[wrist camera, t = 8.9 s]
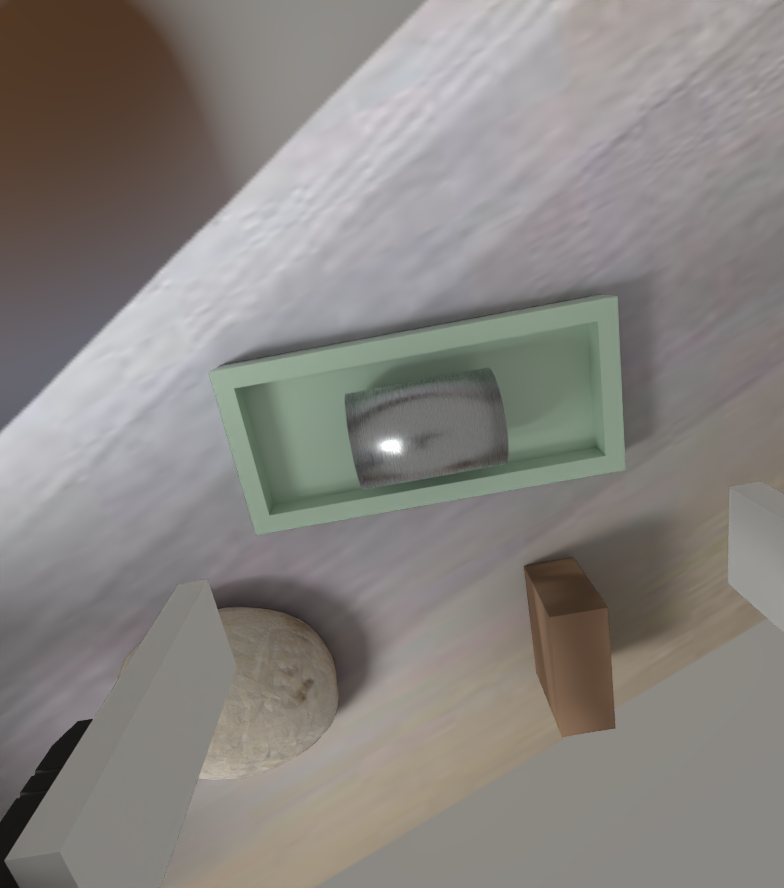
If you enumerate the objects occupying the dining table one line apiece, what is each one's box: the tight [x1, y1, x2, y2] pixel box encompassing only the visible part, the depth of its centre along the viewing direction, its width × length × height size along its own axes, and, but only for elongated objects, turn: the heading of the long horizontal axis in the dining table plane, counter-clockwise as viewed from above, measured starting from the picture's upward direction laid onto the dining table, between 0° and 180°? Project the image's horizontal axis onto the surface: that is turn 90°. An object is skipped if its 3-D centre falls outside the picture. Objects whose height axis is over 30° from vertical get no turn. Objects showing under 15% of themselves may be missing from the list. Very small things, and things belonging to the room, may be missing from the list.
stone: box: [117, 607, 339, 780], centre depth 32 cm, size 13×10×8 cm
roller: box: [345, 367, 509, 490], centre depth 26 cm, size 5×7×5 cm
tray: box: [208, 294, 626, 535], centre depth 28 cm, size 20×9×2 cm, turn 100°
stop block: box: [524, 558, 615, 737], centre depth 31 cm, size 3×8×5 cm, turn 10°
